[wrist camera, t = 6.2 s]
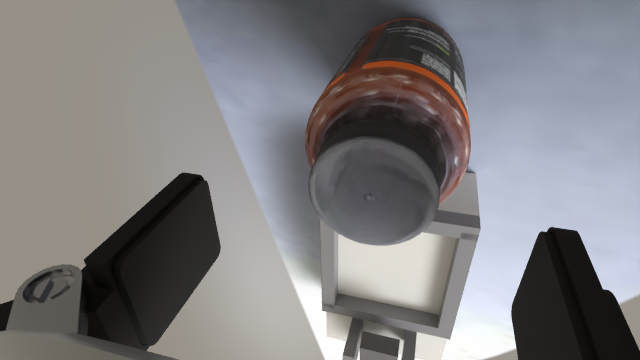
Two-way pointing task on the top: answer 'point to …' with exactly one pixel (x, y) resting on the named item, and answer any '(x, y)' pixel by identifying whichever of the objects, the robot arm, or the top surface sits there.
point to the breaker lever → (378, 347)
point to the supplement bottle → (390, 134)
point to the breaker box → (402, 280)
